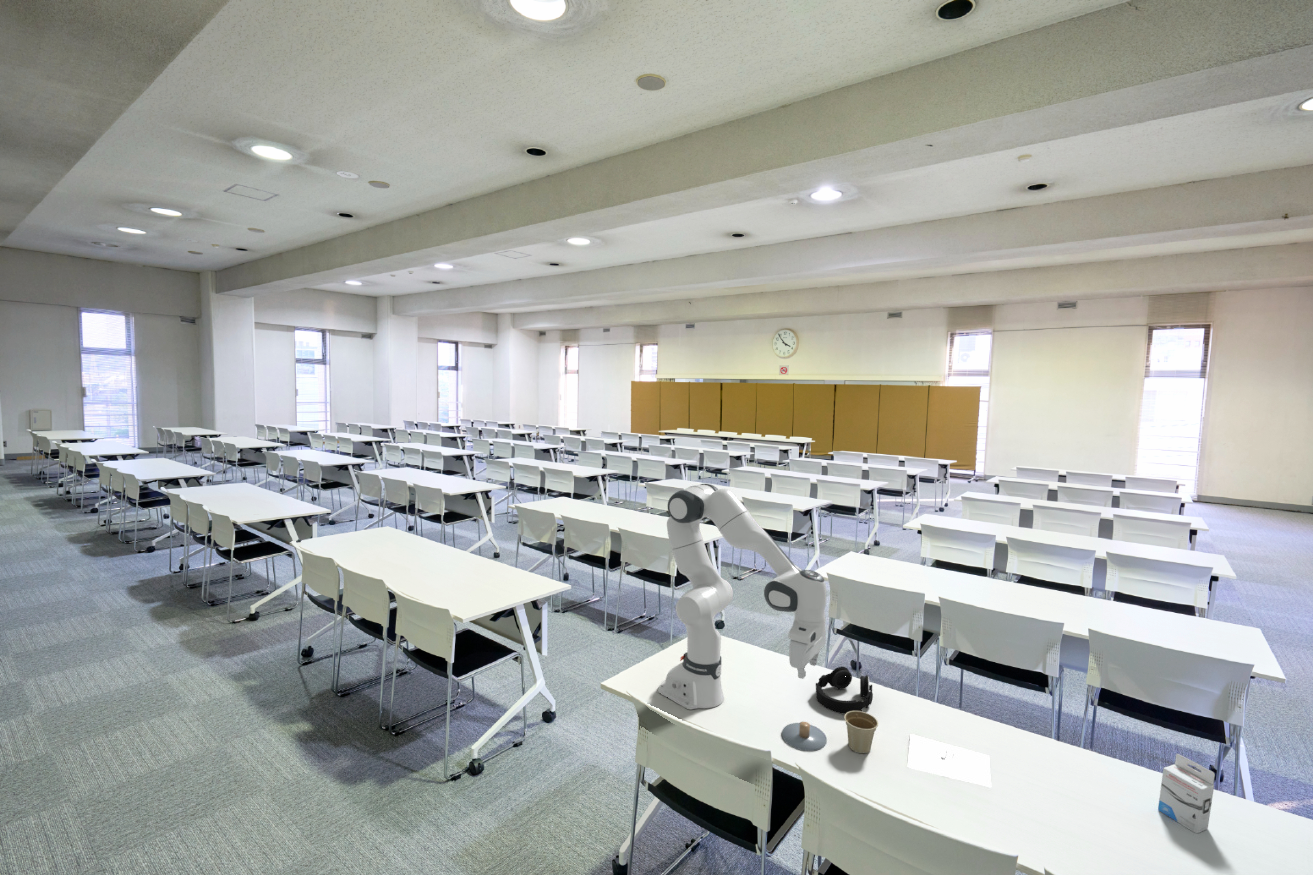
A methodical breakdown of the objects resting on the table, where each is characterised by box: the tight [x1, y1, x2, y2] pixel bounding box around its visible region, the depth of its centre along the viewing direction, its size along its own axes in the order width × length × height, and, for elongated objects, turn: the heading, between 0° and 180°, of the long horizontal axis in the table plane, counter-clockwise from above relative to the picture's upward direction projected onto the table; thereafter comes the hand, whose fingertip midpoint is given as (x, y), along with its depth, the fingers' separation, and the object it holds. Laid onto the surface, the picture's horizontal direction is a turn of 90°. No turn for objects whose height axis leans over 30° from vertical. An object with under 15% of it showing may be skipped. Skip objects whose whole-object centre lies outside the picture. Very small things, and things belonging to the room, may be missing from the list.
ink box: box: [1157, 753, 1216, 834], centre depth 148 cm, size 9×5×15 cm, turn 21°
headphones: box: [815, 666, 874, 715], centre depth 201 cm, size 18×8×20 cm
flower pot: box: [843, 710, 879, 754], centre depth 175 cm, size 9×9×9 cm
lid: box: [781, 721, 828, 752], centre depth 179 cm, size 13×13×4 cm
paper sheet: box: [907, 733, 992, 788], centre depth 165 cm, size 24×29×1 cm
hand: (807, 670), depth 177 cm, fingers open, 8 cm apart
